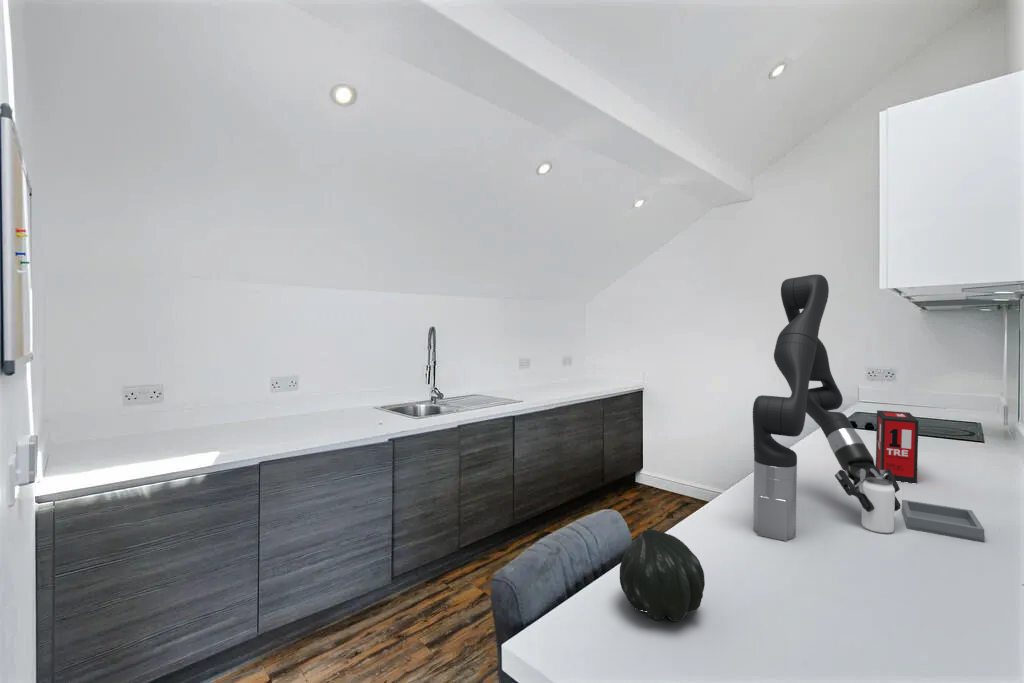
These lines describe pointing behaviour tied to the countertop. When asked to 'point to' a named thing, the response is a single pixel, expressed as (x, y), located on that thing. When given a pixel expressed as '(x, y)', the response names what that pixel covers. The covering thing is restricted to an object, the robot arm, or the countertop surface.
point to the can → (879, 505)
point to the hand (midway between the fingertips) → (884, 509)
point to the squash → (661, 576)
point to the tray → (942, 520)
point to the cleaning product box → (897, 444)
